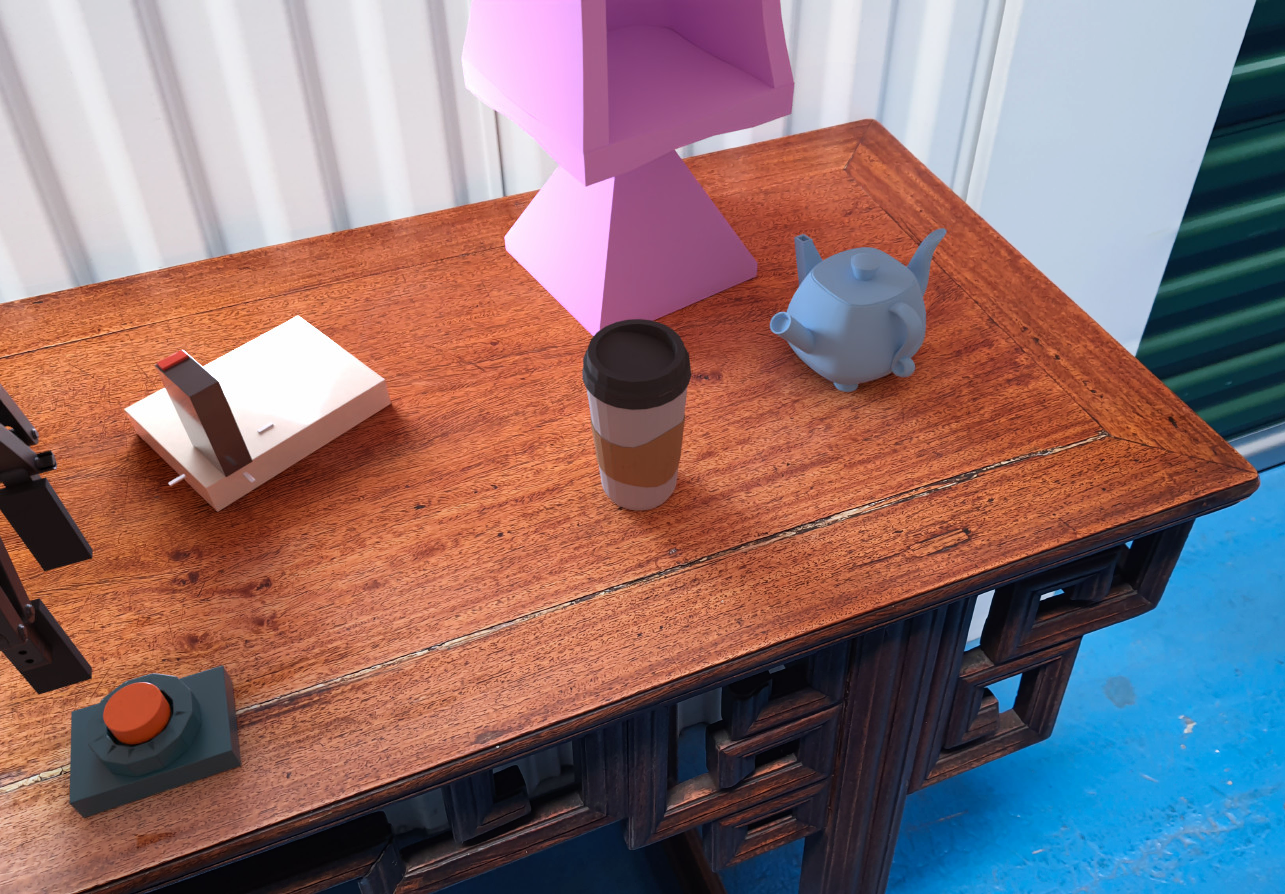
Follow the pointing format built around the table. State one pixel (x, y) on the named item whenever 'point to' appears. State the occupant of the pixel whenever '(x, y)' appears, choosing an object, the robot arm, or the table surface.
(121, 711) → the button
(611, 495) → the coffee cup
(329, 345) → the switch panel
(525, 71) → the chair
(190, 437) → the dark slab
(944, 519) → the table surface
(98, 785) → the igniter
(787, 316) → the teapot
